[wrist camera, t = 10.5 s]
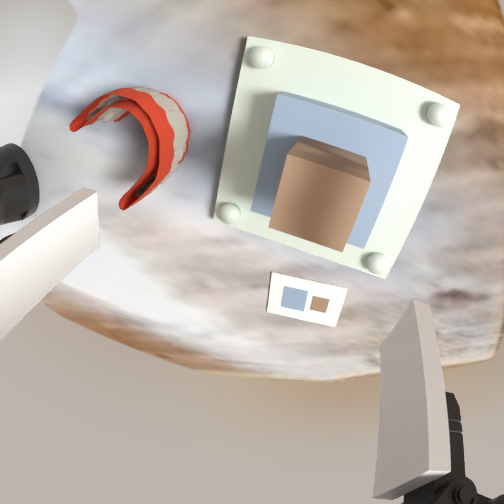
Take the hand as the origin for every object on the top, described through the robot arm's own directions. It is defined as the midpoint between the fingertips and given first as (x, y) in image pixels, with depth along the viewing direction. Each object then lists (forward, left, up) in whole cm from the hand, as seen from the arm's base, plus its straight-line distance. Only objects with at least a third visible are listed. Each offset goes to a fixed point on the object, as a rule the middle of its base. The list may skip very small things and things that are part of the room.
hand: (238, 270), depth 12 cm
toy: (-18, -3, -25) cm, 31 cm away
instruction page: (+5, -21, -24) cm, 32 cm away
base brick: (+2, -2, -23) cm, 23 cm away
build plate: (+2, -2, -24) cm, 24 cm away
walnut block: (+2, -2, -19) cm, 19 cm away
